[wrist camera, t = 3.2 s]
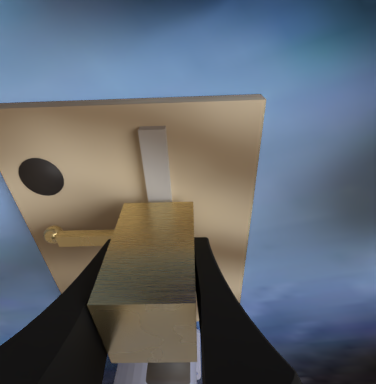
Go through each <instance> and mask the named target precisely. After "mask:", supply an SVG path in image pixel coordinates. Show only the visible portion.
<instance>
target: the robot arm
mask: <svg viewBox="0 0 376 384" xmlns="http://www.w3.org/2000/svg"><path fill="white" fill-rule="evenodd" d="M110 241H111V239H108V240H107V242H106V243H105V244H104V245H103V247H102V248H101V249H100V250H99V252H98V253H97V254H96V255H95V257H94V258H93V259H92V260H91V262H90V263H89V264H88V265H87V266H86V268H85V269H84V270H83V271H82V272H81V274H80V275H79V276H78V277H77V278H76V279H75V280H74V281H73V282H72V283H71V285H70V286H69V287H68V288H67V289H66V290H65V291H64V292H63V293H62V294H61V295H60V296H59V297H58V298H57V299H56V300H55V301H54V302H53V303H52V304H51V305H50V306H49V307H48V308H46V309H45V310H44V311H43V312H42V313H41V314H40V315H39V316H37V317H36V318H35V319H34V320H33V321H31V322H30V323H29V324H28V325H27V326H26V327H24V328H23V329H22V330H21V331H19V332H18V333H17V334H15V335H14V336H13V337H12V338H10V339H9V340H8V341H6V342H5V343H4V344H2V345H1V346H0V384H102V380H103V374H104V368H105V363H106V357H107V351H106V349H105V346H104V344H103V342H102V339H101V337H100V335H99V332H98V330H97V328H96V325H95V323H94V320H93V318H92V316H91V313H90V311H89V309H88V306H87V304H88V301H89V298H90V296H91V293H92V290H93V287H94V285H95V282H96V279H97V276H98V274H99V271H100V268H101V265H102V263H103V260H104V257H105V254H106V252H107V249H108V246H109V243H110ZM194 253H195V287H196V298H197V307H198V315H199V324H200V331H199V330H198V329H197V362H190V384H197V380H198V379H200V378H201V365H200V333H201V352H202V381H203V384H302V382H301V380H300V378H299V376H298V375H297V373H296V371H295V370H294V369H293V368H292V367H291V366H290V365H289V364H288V363H287V361H286V360H285V359H284V358H283V357H282V356H281V355H280V354H279V353H278V352H277V351H276V349H275V348H274V347H273V346H272V345H271V344H270V343H269V341H268V340H267V339H266V338H265V337H264V335H263V334H262V333H261V332H260V330H259V329H258V328H257V326H256V325H255V324H254V323H253V321H252V320H251V319H250V318H249V316H248V315H247V313H246V312H245V310H244V309H243V308H242V306H241V305H240V303H239V302H238V300H237V299H236V297H235V295H234V294H233V292H232V291H231V289H230V287H229V285H228V284H227V282H226V280H225V278H224V276H223V274H222V272H221V270H220V268H219V266H218V264H217V262H216V260H215V257H214V255H213V252H212V249H211V246H210V243H209V239H208V238H207V237H194ZM147 365H148V363H118V366H117V370H116V375H115V380H114V384H147V383H146V373H147Z"/></svg>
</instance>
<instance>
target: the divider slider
mask: <svg viewBox="0 0 376 384" xmlns="http://www.w3.org/2000/svg"><path fill="white" fill-rule="evenodd" d="M44 239H45V241H46V242H48V243H50V244H56V243H58V245H59V247H76V246H103V245H104V244H105V243H106V242H107V240H108V239H111V241H110V243H109V246H108V249H107V252H106V254H105V257H104V260H103V263H102V265H101V268H100V271H99V274H98V276H97V279H96V282H95V285H94V287H93V290H92V293H91V296H90V298H89V301H88V304H87V306H88V309H89V311H90V313H91V316H92V318H93V320H94V323H95V325H96V328H97V330H98V332H99V335H100V337H101V339H102V342H103V344H104V346H105V349H106V351H107V353H108V356H109V358H110V360H111V363H162V362H197V327H196V287H195V253H194V209H193V202H155V203H124V205H123V208H122V210H121V213H120V216H119V219H118V221H117V224H116V227H115V230H74V231H63V229H62V228H61V227H59V226H56V225H53V226H50V227H48V228H47V229H46V230H45V231H44Z"/></svg>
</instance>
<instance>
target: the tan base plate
mask: <svg viewBox="0 0 376 384" xmlns="http://www.w3.org/2000/svg"><path fill="white" fill-rule="evenodd" d="M265 105H266V99H265V98H264V97H263V96H262V95H261V94H252V95H223V96H194V97H166V98H137V99H108V100H80V101H51V102H22V103H0V172H1V174H2V176H3V178H4V180H5V182H6V184H7V186H8V188H9V190H10V192H11V194H12V196H13V198H14V200H15V202H16V204H17V206H18V208H19V210H20V212H21V214H22V216H23V218H24V220H25V222H26V224H27V226H28V228H29V230H30V232H31V234H32V236H33V238H34V240H35V242H36V244H37V246H38V248H39V250H40V252H41V254H42V256H43V258H44V260H45V262H46V264H47V266H48V268H49V270H50V272H51V274H52V276H53V278H54V280H55V282H56V284H57V286H58V288H59V290H60V292H61V294H62V293H63V292H64V291H65V290H66V289H67V288H68V287H69V286H70V285H71V283H72V282H73V281H74V280H75V279H76V278H77V277H78V276H79V275H80V274H81V272H82V271H83V270H84V269H85V268H86V266H87V265H88V264H89V263H90V262H91V260H92V259H93V258H94V257H95V255H96V254H97V253H98V252H99V250H100V249H101V248H102V247H103V246H76V247H59V245H58V243H56V244H50V243H48V242H46V241H45V239H44V231H45V230H46V229H47V228H48V227H50V226H53V225H56V226H59V227H61V228H62V229H63V231H74V230H115V227H116V224H117V221H118V219H119V216H120V213H121V210H122V208H123V205H124V203H155V202H193V209H194V237H207V238H208V239H209V243H210V246H211V249H212V252H213V255H214V257H215V260H216V262H217V264H218V266H219V268H220V270H221V272H222V274H223V276H224V278H225V280H226V282H227V284H228V285H229V287H230V289H231V291H232V292H233V294H234V295H235V297H236V299H237V300H238V302H239V303H240V298H241V290H242V283H243V275H244V267H245V260H246V252H247V244H248V236H249V229H250V221H251V213H252V205H253V198H254V190H255V182H256V175H257V167H258V159H259V151H260V144H261V136H262V128H263V120H264V113H265ZM196 321H199V315H198V307H197V298H196ZM146 383H147V384H190V362H162V363H148V365H147V373H146Z"/></svg>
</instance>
